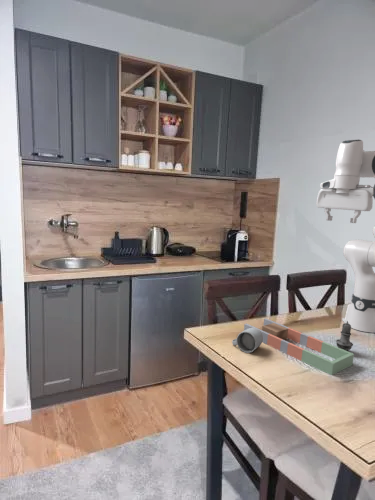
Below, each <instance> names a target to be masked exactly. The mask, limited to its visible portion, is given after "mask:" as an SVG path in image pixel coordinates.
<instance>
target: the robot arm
mask: <svg viewBox="0 0 375 500" xmlns="http://www.w3.org/2000/svg"><path fill="white" fill-rule="evenodd" d="M338 146H339V147H338V149H337V153H336V158H335V172H334V174H333V179H329V180H326V181H324V182H320V185H319V187H320V189H319V190H318V193H317V196H316V197H317V198H316V207H317V208H318V209H324V213H325V216H326V221H330V222H331V221H333V216H332V215H331V213H330V212H331V210H344V211H345V210H347V211H354V212H353V213H354V214H355V215H354V216H353V217H350V224H356V223H357V220H358V218H359V217H360V216H361V215H362V214H361V213H362V212H370V211H371V210H372V209H373V200H375V184H374V185H373V186H371V185H370V184H360V179H361V178H374V179H375V150H371V151H370V150H369V151H368V150H367V151H365V150H364V141H363V140H362V139H348V140H343V141H341V142H340V144H339V145H338ZM372 235H373V237H374V238H375V225H374V226H373V228H372ZM343 256H344V259H345V260H346V261H347V262H348V263H349V264H350V266H351V268H352V270H353V275H354V289H353V293H352V295H351V303H349V304H348V305H347V309H346V312H345V316H344V317H342V318H341V320H342V322H344V323H347V321H348V323H349V324H350V325H351V329H353V330H357V331H360V332H365V333H373V334H374V333H375V272H374V269H373V268H375V241H373V240H367V239H366V240H365V239H351V240H348V241H347V242H346V243H345V245H344V246H343Z"/></svg>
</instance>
